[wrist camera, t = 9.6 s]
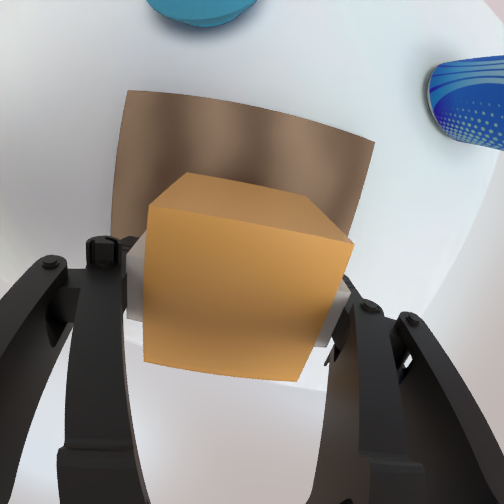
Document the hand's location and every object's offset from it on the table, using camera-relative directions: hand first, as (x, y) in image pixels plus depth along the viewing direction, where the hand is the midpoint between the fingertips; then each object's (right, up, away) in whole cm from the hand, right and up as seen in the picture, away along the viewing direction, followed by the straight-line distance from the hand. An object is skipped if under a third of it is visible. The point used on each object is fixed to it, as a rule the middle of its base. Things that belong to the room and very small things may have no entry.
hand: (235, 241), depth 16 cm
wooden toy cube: (0, 0, 0) cm, 0 cm away
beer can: (+21, +15, +5) cm, 26 cm away
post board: (-1, +4, +8) cm, 9 cm away
